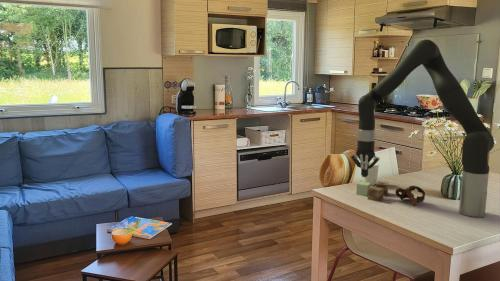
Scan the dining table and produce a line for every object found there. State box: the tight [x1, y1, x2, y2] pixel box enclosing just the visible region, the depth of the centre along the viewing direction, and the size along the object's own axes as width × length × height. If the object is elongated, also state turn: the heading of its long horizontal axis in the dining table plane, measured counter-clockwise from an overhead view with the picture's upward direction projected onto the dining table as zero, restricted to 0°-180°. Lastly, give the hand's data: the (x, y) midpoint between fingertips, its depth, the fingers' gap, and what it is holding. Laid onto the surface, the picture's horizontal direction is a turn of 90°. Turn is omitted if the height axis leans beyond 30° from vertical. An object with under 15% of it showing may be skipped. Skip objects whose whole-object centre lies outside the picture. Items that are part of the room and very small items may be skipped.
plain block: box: [355, 180, 372, 197], centre depth 203 cm, size 5×5×5 cm
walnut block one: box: [375, 180, 389, 197], centre depth 203 cm, size 5×5×5 cm
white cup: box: [361, 161, 380, 186], centre depth 220 cm, size 8×8×10 cm
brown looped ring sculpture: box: [395, 185, 426, 206], centre depth 190 cm, size 12×10×8 cm
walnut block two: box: [367, 185, 384, 202], centre depth 195 cm, size 5×5×5 cm
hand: (364, 176), depth 201 cm, fingers closed
